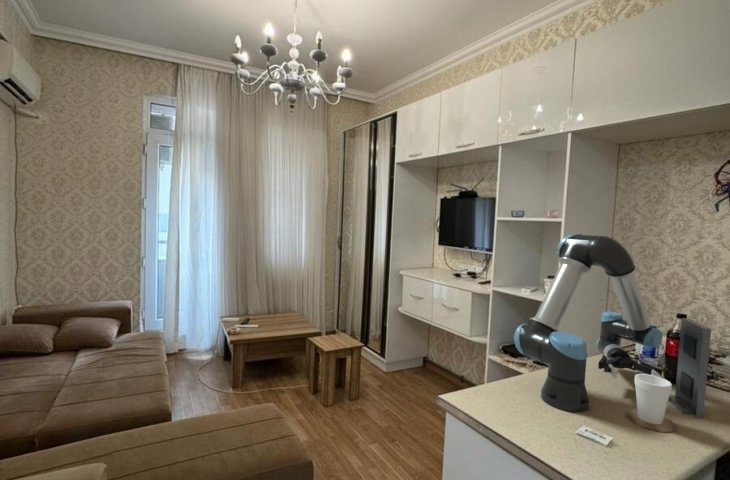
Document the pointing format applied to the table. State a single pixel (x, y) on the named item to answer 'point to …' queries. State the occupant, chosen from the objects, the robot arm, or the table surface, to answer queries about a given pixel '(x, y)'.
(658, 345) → the robot arm
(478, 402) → the table surface
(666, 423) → the coaster
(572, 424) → the table surface
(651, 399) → the foam cup
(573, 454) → the table surface
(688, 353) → the post
